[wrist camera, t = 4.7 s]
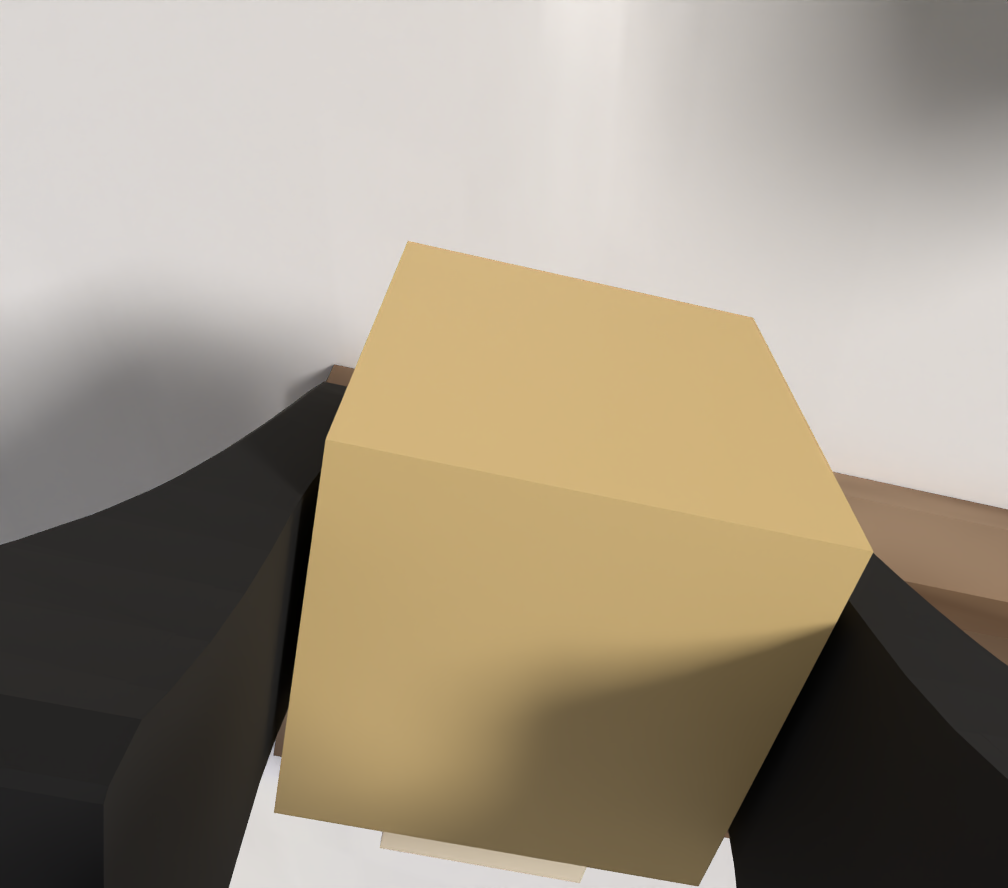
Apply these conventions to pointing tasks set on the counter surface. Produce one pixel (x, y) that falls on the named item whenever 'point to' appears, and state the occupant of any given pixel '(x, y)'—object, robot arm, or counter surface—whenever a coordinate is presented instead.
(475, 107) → the counter surface
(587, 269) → the counter surface
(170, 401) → the counter surface
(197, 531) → the robot arm
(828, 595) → the ochre block
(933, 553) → the puzzle board
